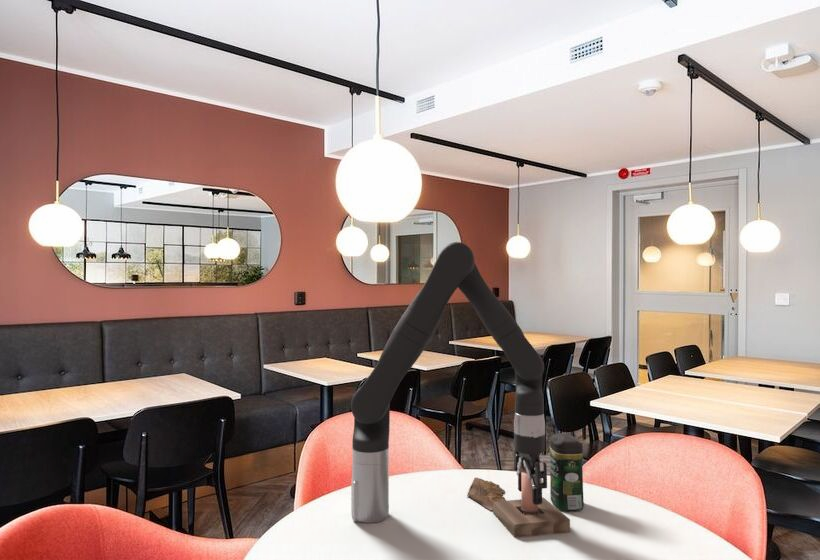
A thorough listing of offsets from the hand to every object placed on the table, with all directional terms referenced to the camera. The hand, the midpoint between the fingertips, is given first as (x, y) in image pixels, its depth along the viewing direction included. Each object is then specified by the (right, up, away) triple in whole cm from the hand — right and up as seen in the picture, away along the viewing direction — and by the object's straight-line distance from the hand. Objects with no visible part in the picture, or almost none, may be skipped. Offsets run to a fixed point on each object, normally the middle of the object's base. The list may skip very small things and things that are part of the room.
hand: (529, 497), depth 134 cm
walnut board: (0, -6, 0) cm, 6 cm away
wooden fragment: (-8, -7, +20) cm, 22 cm away
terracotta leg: (0, -6, 0) cm, 6 cm away
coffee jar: (+12, -7, +11) cm, 17 cm away
